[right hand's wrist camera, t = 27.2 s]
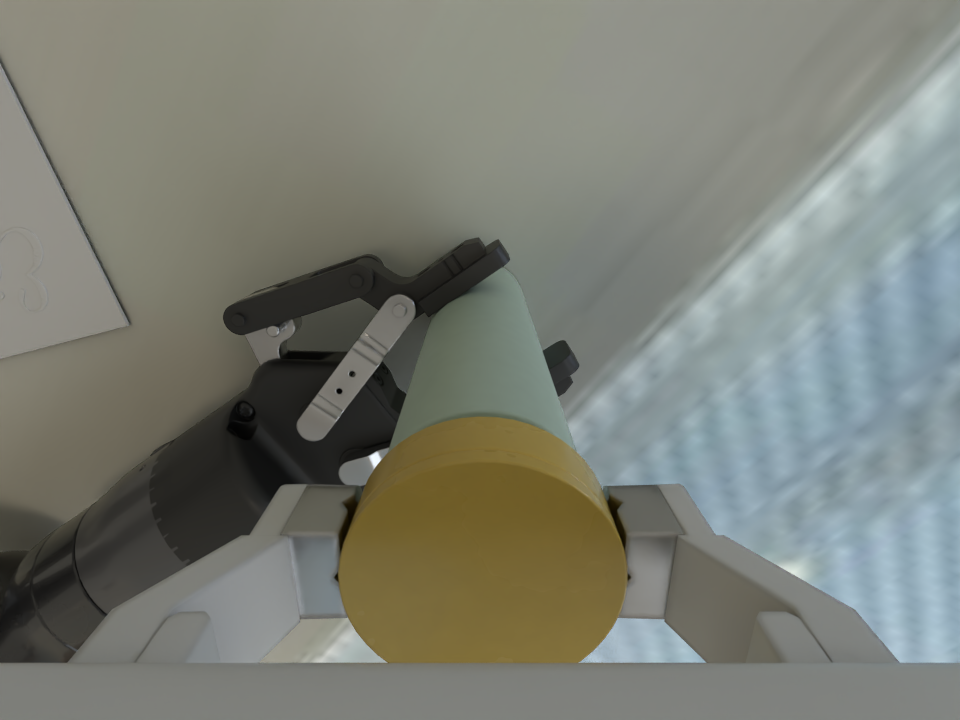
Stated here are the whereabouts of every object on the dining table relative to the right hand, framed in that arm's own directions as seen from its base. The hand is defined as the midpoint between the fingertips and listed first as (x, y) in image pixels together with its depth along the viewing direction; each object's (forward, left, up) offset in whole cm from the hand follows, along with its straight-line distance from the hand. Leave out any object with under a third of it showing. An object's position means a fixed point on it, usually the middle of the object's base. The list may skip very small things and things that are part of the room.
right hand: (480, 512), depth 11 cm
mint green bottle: (0, 0, -18) cm, 18 cm away
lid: (0, 0, +1) cm, 2 cm away
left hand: (-2, -1, -12) cm, 12 cm away
